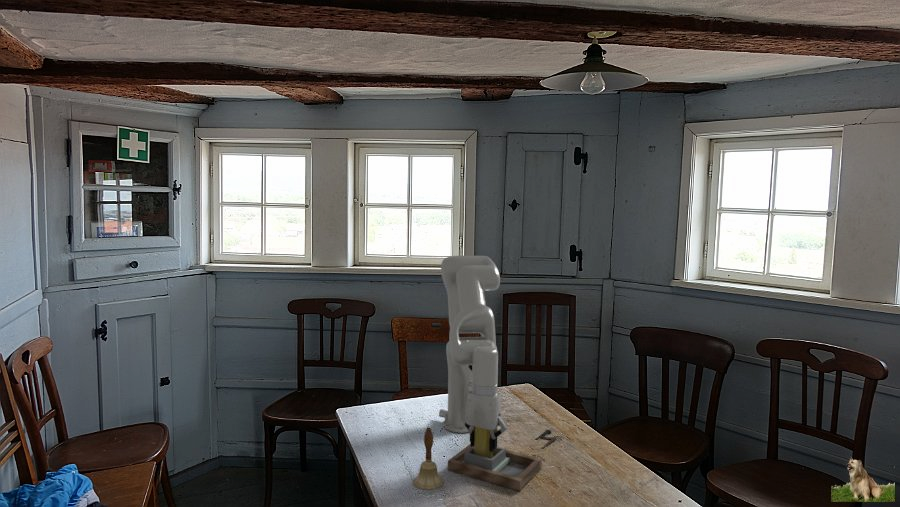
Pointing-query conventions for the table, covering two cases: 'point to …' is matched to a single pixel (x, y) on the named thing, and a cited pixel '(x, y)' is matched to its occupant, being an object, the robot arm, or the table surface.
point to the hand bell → (428, 467)
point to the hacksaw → (547, 438)
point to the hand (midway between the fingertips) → (483, 446)
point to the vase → (482, 443)
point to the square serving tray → (491, 464)
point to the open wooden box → (509, 476)
